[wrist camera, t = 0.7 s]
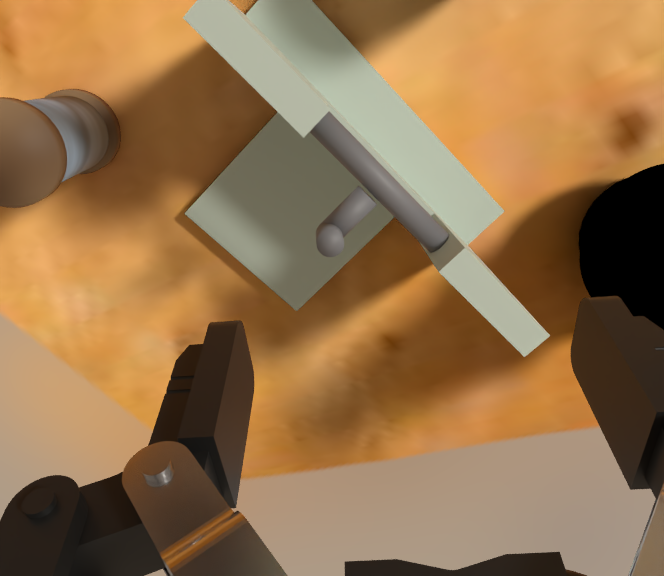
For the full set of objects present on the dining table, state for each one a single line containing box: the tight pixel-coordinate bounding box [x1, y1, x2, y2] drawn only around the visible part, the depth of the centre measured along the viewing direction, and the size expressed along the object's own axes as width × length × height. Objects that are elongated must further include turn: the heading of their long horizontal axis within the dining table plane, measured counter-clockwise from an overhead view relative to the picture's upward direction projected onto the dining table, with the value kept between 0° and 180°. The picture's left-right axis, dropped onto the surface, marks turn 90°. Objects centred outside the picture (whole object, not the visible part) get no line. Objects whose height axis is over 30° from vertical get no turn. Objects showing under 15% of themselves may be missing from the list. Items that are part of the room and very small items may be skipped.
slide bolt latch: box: [183, 0, 550, 357], centre depth 31 cm, size 20×15×15 cm
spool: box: [0, 89, 121, 208], centre depth 32 cm, size 5×5×10 cm
